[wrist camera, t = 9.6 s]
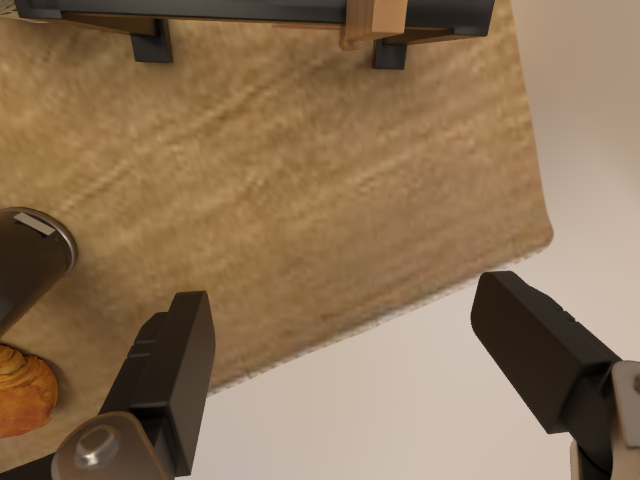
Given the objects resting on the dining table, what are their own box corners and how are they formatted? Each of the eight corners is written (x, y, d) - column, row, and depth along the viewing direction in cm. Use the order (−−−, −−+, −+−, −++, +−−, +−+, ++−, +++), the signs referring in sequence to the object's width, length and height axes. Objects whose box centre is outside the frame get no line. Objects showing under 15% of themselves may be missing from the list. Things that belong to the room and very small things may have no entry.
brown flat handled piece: (273, 51, 29) (261, 41, 12) (271, -4, 27) (255, -104, 11) (378, 55, 30) (503, 49, 13) (383, 2, 28) (534, -83, 11)
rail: (140, 61, 33) (22, 63, 18) (125, -18, 30) (-29, -93, 15) (400, 69, 35) (487, 76, 20) (409, -3, 32) (516, -56, 18)
